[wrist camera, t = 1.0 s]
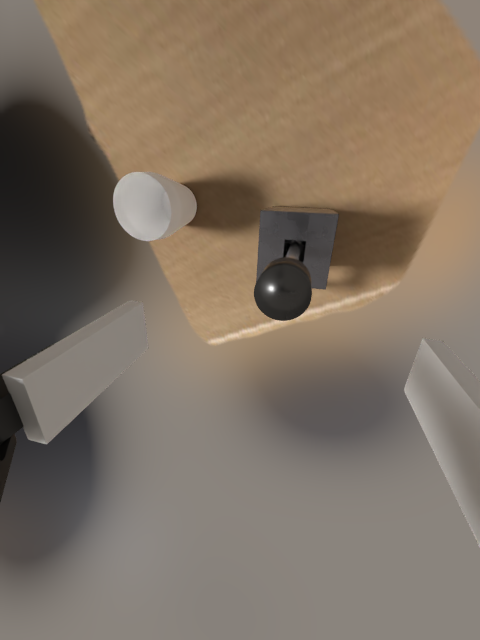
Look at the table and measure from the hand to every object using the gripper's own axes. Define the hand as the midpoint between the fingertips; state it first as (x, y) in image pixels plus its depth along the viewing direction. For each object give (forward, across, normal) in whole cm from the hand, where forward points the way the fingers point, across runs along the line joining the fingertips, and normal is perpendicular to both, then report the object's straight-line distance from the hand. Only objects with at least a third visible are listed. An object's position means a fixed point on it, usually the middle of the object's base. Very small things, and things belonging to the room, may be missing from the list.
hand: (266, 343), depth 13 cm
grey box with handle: (+36, 0, -1) cm, 36 cm away
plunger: (+27, 0, 0) cm, 27 cm away
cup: (+36, -21, +4) cm, 42 cm away
